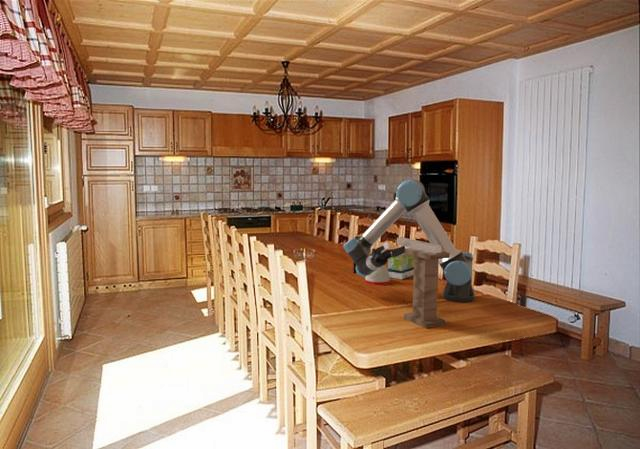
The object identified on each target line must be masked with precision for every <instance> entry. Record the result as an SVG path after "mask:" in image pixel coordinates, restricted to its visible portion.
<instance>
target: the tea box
mask: <svg viewBox="0 0 640 449" xmlns="http://www.w3.org/2000/svg"><path fill="white" fill-rule="evenodd" d="M390 252H391V254H392V251H390ZM387 269H388V272H389V275H390V279H391V278H392V279H397V280H398V279H399V280H403V279H405V278H410V277H412V276H413V277H414V256H413V255H409V254H405V253H404V254H401V255H399V256H397V257H395V258H393V257H391V258H390V259H388V261H387Z"/></svg>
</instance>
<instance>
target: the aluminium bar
mask: <svg viewBox="0 0 640 449" xmlns="http://www.w3.org/2000/svg"><path fill="white" fill-rule="evenodd" d="M396 245H398V246H400V247H402V246H405V247H409V248H414V249H418V250H422V251H426V252H430V253H434V254H438V253H441V246H440V245H436V244H431V243H430V242H427V241H421V240H417V239H413V238H412V239H411V238H407V237H402V236H401V237H396Z"/></svg>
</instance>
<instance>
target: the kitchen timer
mask: <svg viewBox="0 0 640 449" xmlns="http://www.w3.org/2000/svg"><path fill="white" fill-rule="evenodd" d="M364 278H365V279H364V283H366V284H368V285H373V286H386V285H390V283H391V277H390V275H389V272H388V266H386V264H385V265H383V266H382V267H380V268H379V269H377V271H374V272H373V273H371V274H370V275H368V276H366V277H364Z"/></svg>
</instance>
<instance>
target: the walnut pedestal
mask: <svg viewBox="0 0 640 449" xmlns="http://www.w3.org/2000/svg"><path fill="white" fill-rule="evenodd" d="M405 254H409V255H413V256H414V275H413V279H412V280H413V283H412V285H413V286H412V310H411V311H412V312H408V313H403V319H405V320H407V321H409V322H410V323H413V324H416V325H418V326H420V327H422V328H424V329H430V328H433V327H434V328H436V327H440V326H445V325H446V319H444V318H441V317H439V316H437V313H438V311H437V310H438V290H439V286H438V284H439V266H440V264H439V260H440V259H443V258H449V256H450V253H448V252H444V251H441V253H438V254H434V253H430V252H426V251H422V250H418V249H414V248H405Z"/></svg>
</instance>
